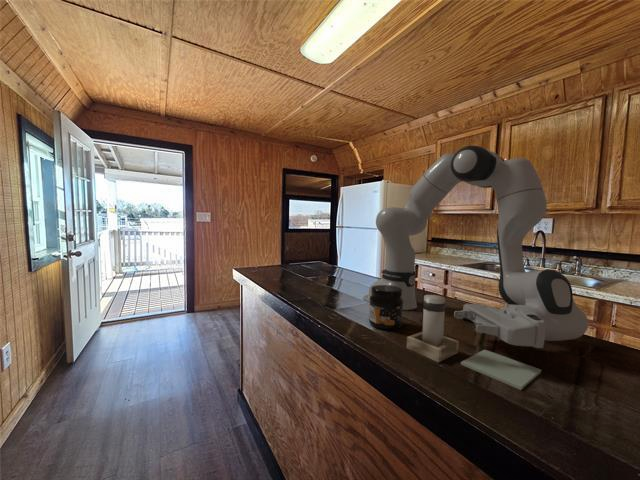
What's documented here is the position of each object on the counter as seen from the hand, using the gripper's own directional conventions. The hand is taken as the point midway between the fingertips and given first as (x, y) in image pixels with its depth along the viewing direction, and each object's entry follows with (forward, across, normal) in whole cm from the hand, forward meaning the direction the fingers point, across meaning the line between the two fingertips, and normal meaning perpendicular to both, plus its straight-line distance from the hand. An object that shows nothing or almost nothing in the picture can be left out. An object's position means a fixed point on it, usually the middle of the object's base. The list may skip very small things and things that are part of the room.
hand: (464, 321), depth 72 cm
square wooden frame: (+8, 0, +8) cm, 11 cm away
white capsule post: (+8, 0, +8) cm, 11 cm away
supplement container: (+16, -18, +8) cm, 25 cm away
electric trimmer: (-19, -28, +8) cm, 35 cm away
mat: (-4, +9, +8) cm, 12 cm away
